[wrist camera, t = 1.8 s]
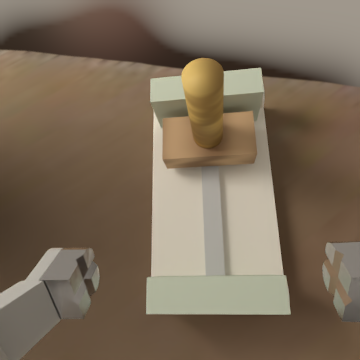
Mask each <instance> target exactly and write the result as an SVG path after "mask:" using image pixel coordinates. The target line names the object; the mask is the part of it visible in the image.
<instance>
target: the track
mask: <svg viewBox="0 0 360 360" xmlns="http://www.w3.org/2000/svg"><path fill="white" fill-rule="evenodd" d="M150 103H151V105H152V107H153V110H154V127H153V194H152V260H151V277H147V296H146V314H262V315H291V312H290V299H289V290H288V285H287V279H286V275H283V266H282V258H281V250H280V241H279V233H278V224H277V216H276V207H275V199H274V191H273V182H272V174H271V165H270V157H269V148H268V140H267V131H266V123H265V115H264V85H263V81H262V73H261V68H253V69H244V70H233V71H224V97H223V113H234V112H246V111H253V117H254V127H255V136H256V146H257V156H256V159H255V162H254V164H238V165H222V166H205V167H188V168H172V169H167V167H166V165H165V163H164V161H163V159H162V153H163V118H173V117H185V116H189V114H188V109H187V104H186V99H185V94H184V89H183V84H182V79H181V76H173V77H163V78H153V79H151V91H150Z"/></svg>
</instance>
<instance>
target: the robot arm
mask: <svg viewBox="0 0 360 360" xmlns="http://www.w3.org/2000/svg"><path fill="white" fill-rule="evenodd" d="M325 253H326V255H327V257H328V258H327V259H326V260H325V261H324V262H323V269H322V271H323V279H324V283H325V286H326V288H327V290H328V292H330V293H331V294H332V295H334V302H333V303H334V306H335V308H336V310H337V312H338V314H339V316H340V318H341V321H343V322H360V241H352V242H328V243H327V245H326V248H325ZM94 257H95V256H94V253H93V250H92V249H91V248H51V249H49V250H47V252H46V253H45V254H44V256H43V257H42V258H41V260H40V261H39V262H38V264H37V265H36V266H35V268H34V269H33V270H32V272H31V273H30V274H29V276H28V277H27V278H26V280H25V281H20V282H18V283H16V284H15V285H13V286H12V287H10V288H8V289H7V290H5V291H4V292H2V293H0V360H20V359H21V358H22V357H23V356H24V355H25V354H26V353H27V352H28V351H29V350H30V349H31V348H32V347H33V346H34V345H35V344H37V343H38V342H39V341H40V340H41V339H42V338H43V337H44V336H45V335H46V334H47V333H48V332H49V331H50V330H51V329H52V328H53V327H54V326H55V325H56V324H57V323H58V322H59V321H60V319H84V317H85V315H86V313H87V310H88V308H89V306H90V304H91V300H90V296H91V295H92V294H94V293H95V292H96V290H97V287H98V285H99V278H100V274H99V268H98V265H96V264H95V263H94V262H93V259H94Z"/></svg>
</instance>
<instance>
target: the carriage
mask: <svg viewBox="0 0 360 360" xmlns="http://www.w3.org/2000/svg"><path fill="white" fill-rule="evenodd" d="M181 79H182V84H183V89H184V94H185V99H186V104H187V109H188V114H189V116H185V117H173V118H163V153H162V159H163V161H164V163H165V165H166V167H167V169H172V168H188V167H205V166H222V165H238V164H254V162H255V159H256V156H257V146H256V136H255V127H254V117H253V111H246V112H234V113H223V97H224V71H223V68H222V67H221V65H220V64H219V63H218V62H216V61H215V60H213V59H209V58H200V59H196V60H193V61H192V62H190V63H189V64H187V66H186V67H185V68H184V70H183V72H182V76H181Z"/></svg>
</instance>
